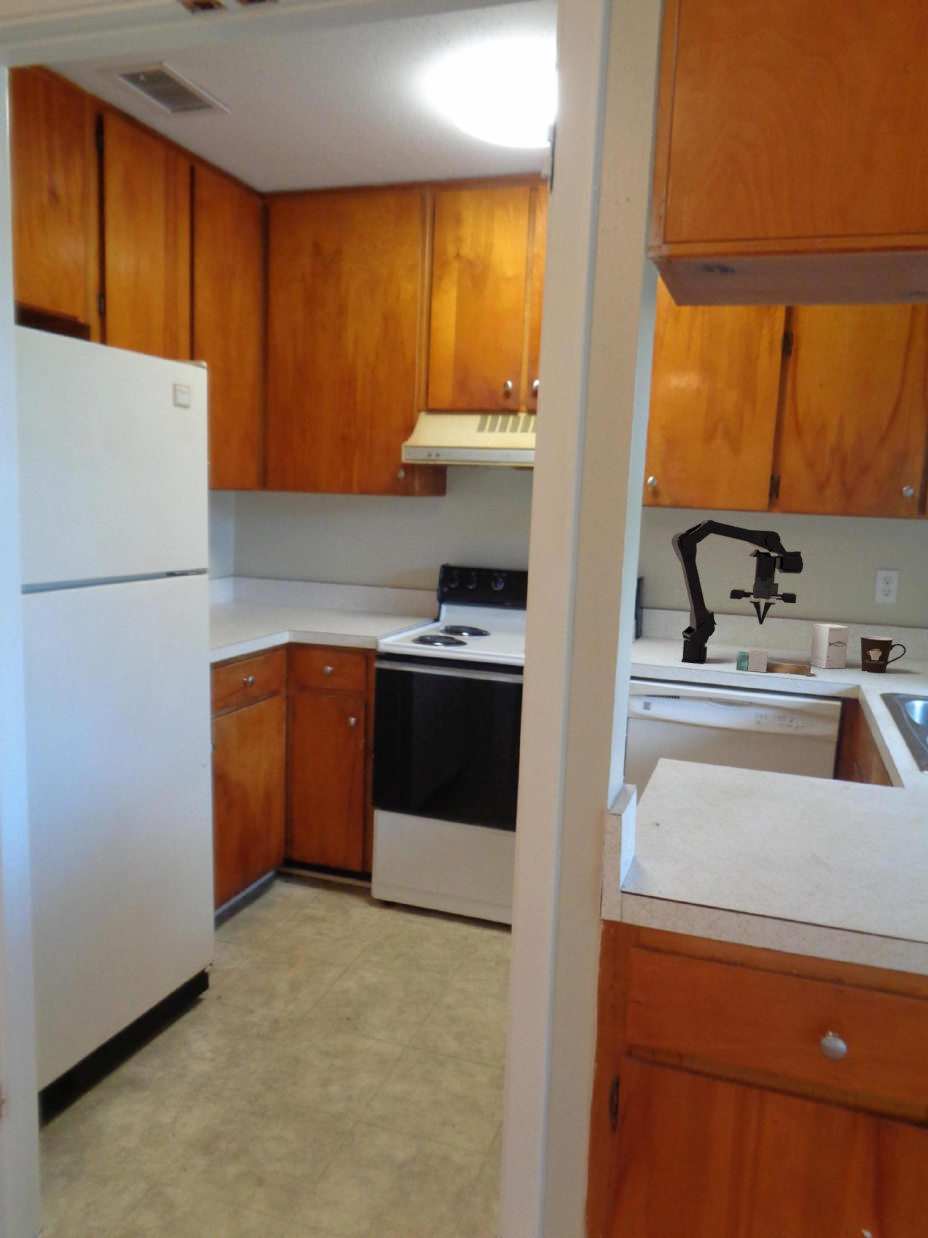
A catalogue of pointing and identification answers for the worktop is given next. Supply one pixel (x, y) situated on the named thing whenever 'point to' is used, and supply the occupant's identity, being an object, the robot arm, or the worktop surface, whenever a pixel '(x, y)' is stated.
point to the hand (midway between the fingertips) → (760, 624)
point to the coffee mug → (877, 653)
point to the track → (773, 666)
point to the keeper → (757, 661)
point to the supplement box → (829, 645)
